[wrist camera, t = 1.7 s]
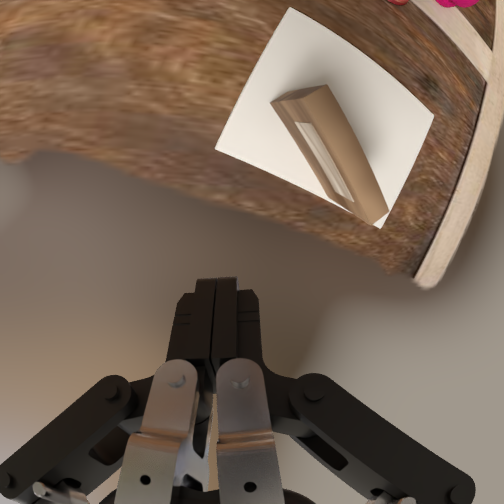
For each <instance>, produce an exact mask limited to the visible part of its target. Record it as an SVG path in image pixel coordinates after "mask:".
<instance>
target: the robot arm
mask: <svg viewBox="0 0 504 504" xmlns="http://www.w3.org/2000/svg"><path fill="white" fill-rule="evenodd" d="M213 394H217V412H218V429H219V439H218V441H217V449H216V450H217V467H218V481H219V489H218V490H213V491H208V482H209V466H208V450H209V443H210V434H211V427H212V419H213V408H212V404H213ZM272 431H273V432H277V433H282V434H287V435H289V436H290V437H291V438H292V439H293V440H294V441H296V442H297V443H298V444H299V445H300V446H301V447H302V448H304V449H305V450H306V451H307V452H308V453H309V454H310V455H312V456H313V457H314V458H315V459H317V460H318V461H319V462H320V463H321V464H322V465H324V466H325V467H326V468H328V469H329V470H330V471H331V472H332V473H334V474H335V475H336V476H337V477H339V478H340V479H341V480H342V481H344V482H345V483H346V484H348V485H349V486H350V487H352V488H353V489H355V490H356V491H357V492H358V493H360V494H361V495H363V496H364V497H365V498H367V499H368V501H367V502H366V504H471V503H472V501H473V499H474V496H475V483H474V481H473V479H472V478H471V477H470V476H469V475H467V474H466V473H464V472H463V471H461V470H459V469H458V468H456V467H455V466H453V465H451V464H450V463H448V462H447V461H445V460H444V459H442V458H440V457H439V456H438V455H436V454H434V453H433V452H432V451H430V450H428V449H427V448H426V447H424V446H422V445H421V444H420V443H418V442H417V441H415V440H413V439H412V438H411V437H409V436H408V435H406V434H405V433H403V432H402V431H401V430H399V429H398V428H396V427H395V426H394V425H392V424H391V423H389V422H388V421H386V420H385V419H384V418H382V417H381V416H380V415H378V414H377V413H376V412H374V411H373V410H371V409H370V408H369V407H367V406H366V405H364V404H363V403H362V402H361V401H359V400H358V399H356V398H355V397H354V396H352V395H351V394H350V393H348V392H347V391H346V390H345V389H343V388H342V387H341V386H339V385H338V384H336V383H335V382H334V381H333V380H331V379H330V378H329V377H327V376H325V375H322V374H317V373H310V374H306V375H303V376H301V377H299V378H298V379H294V378H289V377H284V376H280V375H277V374H275V373H273V372H272V371H270V370H269V369H268V368H267V367H266V366H265V364H264V362H263V358H262V345H261V329H260V315H259V301H258V298H257V296H256V295H255V293H254V292H253V290H252V289H250V290H239V284H238V277H237V276H236V277H220V278H218V279H217V278H205V279H198V280H197V282H196V288H195V293H185V294H184V295H183V297H182V298H181V299H180V300H179V302H178V303H177V307H176V312H175V317H174V321H173V326H172V331H171V337H170V342H169V348H168V352H167V358H166V361H165V363H164V364H162V365H161V366H160V367H159V368H158V369H157V371H156V373H155V375H153V376H151V377H149V378H145V379H141V380H137V381H133V382H128V381H127V380H126V379H125V378H123V377H122V376H118V375H110V376H106V377H104V378H103V379H101V380H100V381H99V382H97V383H96V384H95V385H94V386H93V387H92V388H90V389H89V390H88V391H87V392H86V393H84V395H82V396H81V397H80V398H79V399H77V400H76V401H75V402H74V403H73V404H72V405H70V406H69V407H68V408H67V409H66V410H65V411H64V412H62V413H61V414H60V415H59V416H57V417H56V418H55V419H54V420H53V421H51V422H50V423H49V424H48V425H47V426H46V427H44V428H43V429H42V430H41V431H40V432H39V433H37V434H36V435H35V436H34V437H33V438H31V439H30V440H29V441H28V442H27V443H26V444H24V445H23V446H22V447H21V448H20V449H18V450H17V451H16V452H15V453H14V454H13V455H12V456H10V457H9V458H8V459H7V460H6V461H4V462H3V463H2V464H1V465H0V493H1V494H2V495H3V496H4V497H6V498H8V499H10V500H13V501H16V502H18V503H20V504H90V503H89V501H88V500H87V498H86V496H87V495H88V494H90V493H91V492H92V491H93V490H94V489H96V488H97V487H98V486H99V485H100V484H102V483H103V482H104V481H105V480H106V479H108V478H109V477H110V476H111V475H112V474H113V473H114V472H116V471H117V470H118V469H119V468H120V467H121V466H122V468H121V472H120V477H119V481H118V486H117V489H115V490H114V491H112V492H111V493H110V494H109V495H108V496H107V497H105V498H104V499H103V500H102V501H101V502H100V503H99V504H315V503H314V502H313V501H311V500H310V499H309V498H307V497H305V496H303V495H301V494H299V493H296V492H294V491H291V490H287V489H283V488H282V483H281V477H280V472H279V465H278V459H277V453H276V447H275V441H274V437H273V434H272ZM207 491H208V492H207Z"/></svg>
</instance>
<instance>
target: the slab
mask: <svg viewBox="0 0 504 504" xmlns="http://www.w3.org/2000/svg"><path fill="white" fill-rule="evenodd" d="M270 104H271V106H272V107H273V109H274V110H275V112H276V113H277V115H278V116H279V118H280V119H281V121H282V122H283V124H284V125H285V127H286V128H287V130H288V132H289V133H290V135H291V136H292V138H293V139H294V141H295V143H296V144H297V146H298V147H299V149H300V151H301V152H302V154H303V155H304V157H305V159H306V160H307V162H308V164H309V165H310V167H311V169H312V170H313V172H314V174H315V176H316V177H317V179H318V181H319V182H320V184H321V186H322V188H323V189H324V191H325V193H326V195H327V196H328V198H330V199H331V200H333V201H334V202H336V203H337V204H339V205H341V206H342V207H344V208H345V209H347V210H348V211H350V212H351V213H353V214H354V215H356V216H357V217H359V218H360V219H362V220H363V221H365V222H366V223H368V224H369V225H371V226H372V225H373V224H374V223H375V222H377V221H378V220H379V219H380V218H382V217H383V216H384V215H386V214H387V213H388V212H389V209H388V206H387V203H386V201H385V199H384V196H383V194H382V191H381V189H380V187H379V184H378V182H377V180H376V177H375V175H374V173H373V171H372V168H371V166H370V164H369V162H368V160H367V158H366V155H365V153H364V151H363V149H362V147H361V145H360V143H359V141H358V139H357V137H356V135H355V133H354V131H353V129H352V127H351V125H350V124H349V122H348V120H347V118H346V116H345V114H344V112H343V111H342V109H341V107H340V105H339V103H338V102H337V100H336V98H335V96H334V95H333V93H332V91H331V90H330V88H329V86H328V85H327V84H325V85H319V86H314V87H308V88H303V89H298V90H293V91H288V92H286V93H285V94H283V95H281V96H280V97H278V98H277V99H275V100H273V101H272V102H270Z"/></svg>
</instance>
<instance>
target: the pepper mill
mask: <svg viewBox="0 0 504 504" xmlns="http://www.w3.org/2000/svg"><path fill="white" fill-rule="evenodd" d="M436 1H437V2H438V3H439V4H440V5H442V6H443V7H447V8H448V7H454V6H456V5H457V6H460V7H470V6H472V5H474V4H476V3H477V2H478V1H479V0H436Z"/></svg>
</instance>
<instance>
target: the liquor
mask: <svg viewBox="0 0 504 504" xmlns="http://www.w3.org/2000/svg"><path fill="white" fill-rule="evenodd" d="M388 1H389V2H391V3H393V4H396V5H405V4H406V3H407V2H408V1H409V0H388Z"/></svg>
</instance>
